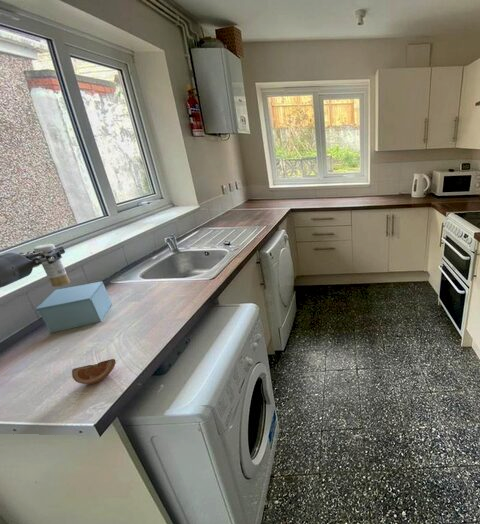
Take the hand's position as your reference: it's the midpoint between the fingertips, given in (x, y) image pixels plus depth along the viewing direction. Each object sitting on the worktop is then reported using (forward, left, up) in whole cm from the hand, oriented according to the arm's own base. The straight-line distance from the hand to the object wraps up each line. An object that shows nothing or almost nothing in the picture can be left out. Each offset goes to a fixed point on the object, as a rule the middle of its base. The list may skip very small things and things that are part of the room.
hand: (53, 250), depth 92 cm
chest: (-1, +1, -26) cm, 26 cm away
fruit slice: (+14, -40, -26) cm, 50 cm away
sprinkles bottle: (-1, -3, -11) cm, 12 cm away
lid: (-1, 0, -17) cm, 17 cm away
